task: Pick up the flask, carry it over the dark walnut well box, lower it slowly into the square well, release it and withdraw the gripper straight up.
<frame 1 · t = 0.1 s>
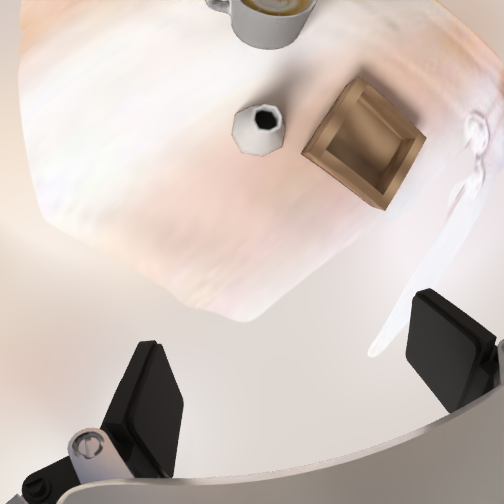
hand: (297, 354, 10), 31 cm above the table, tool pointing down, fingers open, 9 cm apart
coffee mug: (255, 19, 31), on the table
flask: (258, 130, 36), on the table
walnut well: (360, 144, 37), on the table
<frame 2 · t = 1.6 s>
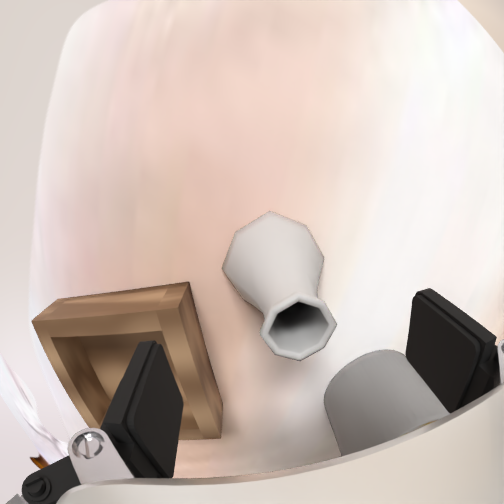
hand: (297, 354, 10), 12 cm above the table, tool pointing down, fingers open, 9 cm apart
coffee mug: (383, 380, 26), on the table
flask: (273, 261, 22), on the table
walnut well: (138, 357, 23), on the table
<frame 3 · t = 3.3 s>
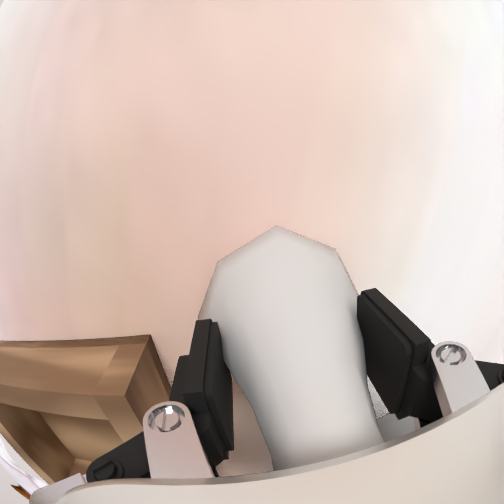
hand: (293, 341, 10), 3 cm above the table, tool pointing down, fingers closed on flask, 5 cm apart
coffee mug: (411, 430, 18), on the table
flask: (280, 304, 13), on the table, touching gripper
walnut well: (97, 418, 15), on the table
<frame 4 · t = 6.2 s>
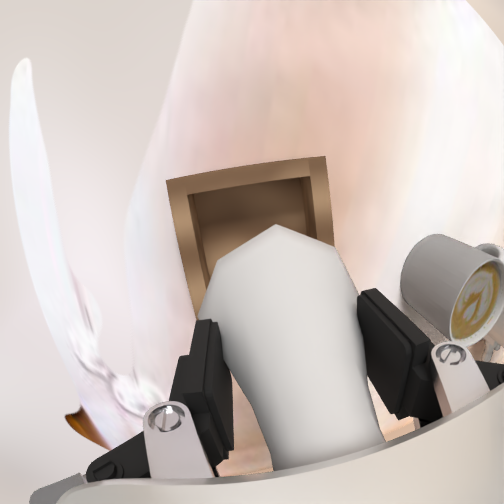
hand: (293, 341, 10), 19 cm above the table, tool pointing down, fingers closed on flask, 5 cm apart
coffee mug: (440, 267, 31), on the table
flask: (279, 302, 13), point 15 cm above the table, touching gripper
walnut well: (254, 232, 28), on the table
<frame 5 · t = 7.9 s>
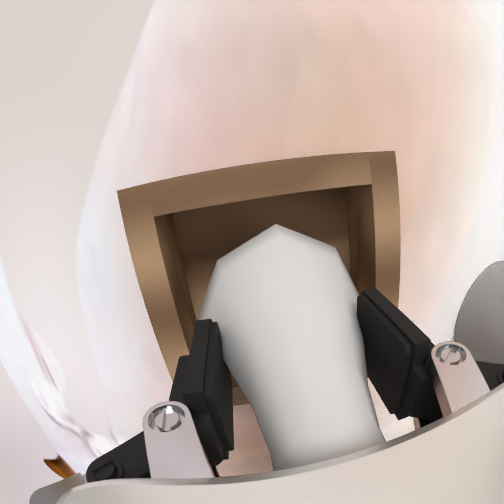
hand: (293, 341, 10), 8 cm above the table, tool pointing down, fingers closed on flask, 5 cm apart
coffee mug: (497, 300, 21), on the table
flask: (279, 302, 13), point 5 cm above the table, touching gripper
walnut well: (269, 270, 18), on the table
when the fingers open (6 cm above the table, at t = 9.2 s): flask drops 2 cm, resting on walnut well.
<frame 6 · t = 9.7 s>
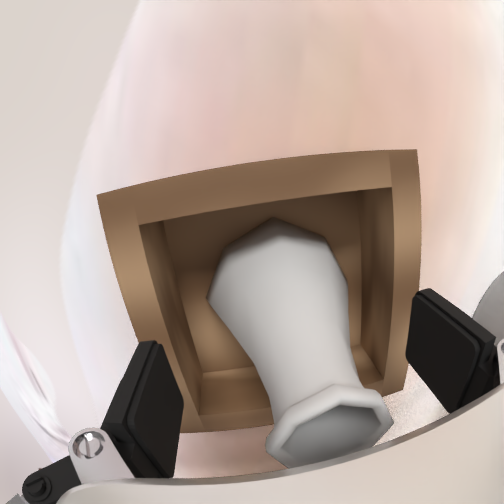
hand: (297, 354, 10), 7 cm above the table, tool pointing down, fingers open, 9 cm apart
flask: (277, 286, 16), point 1 cm above the table, touching walnut well
walnut well: (272, 282, 16), on the table
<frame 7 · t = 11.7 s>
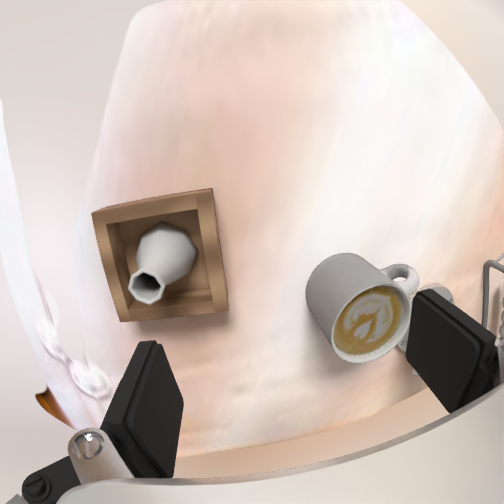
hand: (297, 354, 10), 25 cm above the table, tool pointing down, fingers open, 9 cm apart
coffee mug: (351, 283, 37), on the table
flask: (166, 252, 33), point 1 cm above the table, touching walnut well
walnut well: (166, 250, 34), on the table
newton's cradle: (495, 307, 44), on the table
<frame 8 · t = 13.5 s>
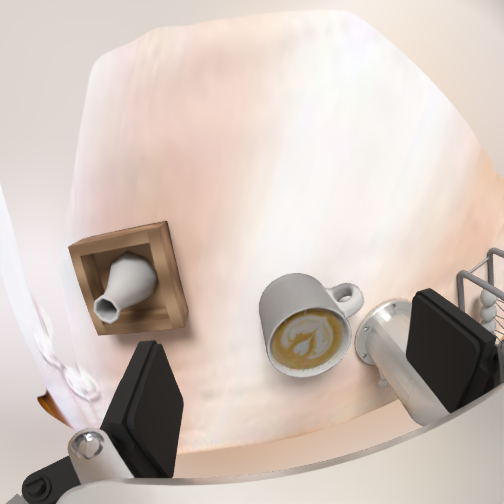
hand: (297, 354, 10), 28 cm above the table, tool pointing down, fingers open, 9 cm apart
coffee mug: (304, 301, 41), on the table
flask: (133, 276, 37), point 1 cm above the table, touching walnut well
walnut well: (133, 275, 38), on the table
newton's cradle: (475, 317, 45), on the table
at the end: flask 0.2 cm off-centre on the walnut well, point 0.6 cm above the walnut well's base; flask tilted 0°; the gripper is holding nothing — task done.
